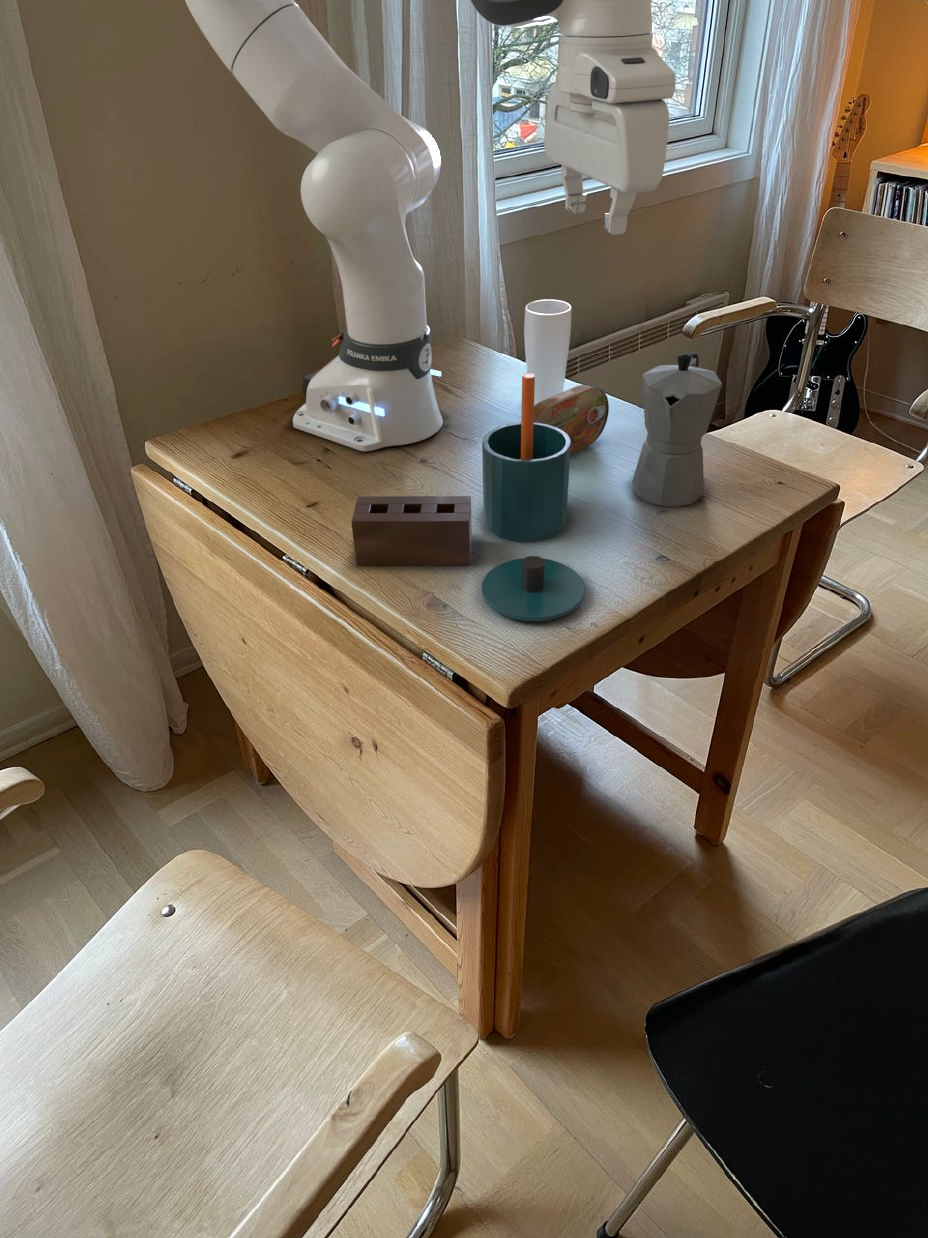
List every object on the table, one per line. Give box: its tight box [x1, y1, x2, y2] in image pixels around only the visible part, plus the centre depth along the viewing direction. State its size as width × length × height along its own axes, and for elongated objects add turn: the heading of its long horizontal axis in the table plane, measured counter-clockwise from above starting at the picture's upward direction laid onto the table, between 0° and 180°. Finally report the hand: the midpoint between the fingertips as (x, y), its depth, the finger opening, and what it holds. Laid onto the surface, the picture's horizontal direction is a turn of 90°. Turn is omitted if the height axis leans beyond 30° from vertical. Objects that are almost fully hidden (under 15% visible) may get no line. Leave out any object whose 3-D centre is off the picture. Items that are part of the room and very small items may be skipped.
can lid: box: [481, 555, 586, 622], centre depth 96 cm, size 11×11×4 cm
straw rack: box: [351, 495, 473, 567], centre depth 103 cm, size 6×13×6 cm, turn 88°
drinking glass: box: [523, 299, 572, 406], centre depth 132 cm, size 7×7×15 cm
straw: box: [520, 372, 535, 460], centre depth 104 cm, size 1×1×18 cm
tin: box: [534, 384, 610, 456], centre depth 122 cm, size 15×3×8 cm, turn 131°
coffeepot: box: [631, 352, 723, 508], centre depth 110 cm, size 15×9×18 cm, turn 159°
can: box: [481, 421, 571, 542], centre depth 107 cm, size 10×10×11 cm
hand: (594, 221), depth 94 cm, fingers open, 8 cm apart
